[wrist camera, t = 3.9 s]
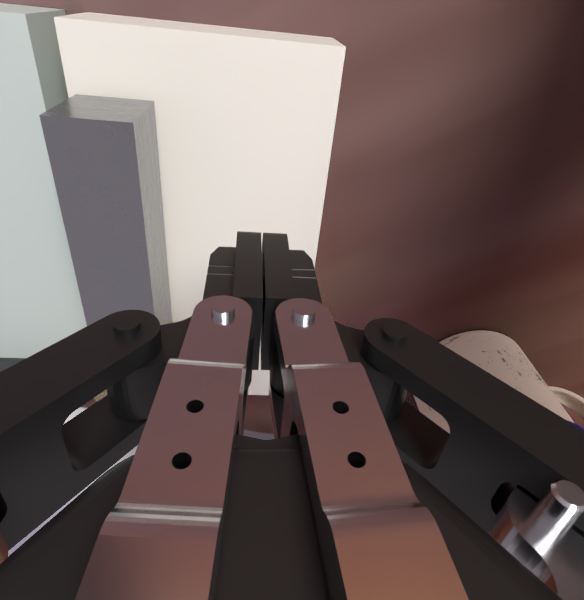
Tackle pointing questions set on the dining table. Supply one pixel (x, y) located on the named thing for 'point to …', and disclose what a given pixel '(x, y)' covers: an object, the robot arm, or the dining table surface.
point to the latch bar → (111, 203)
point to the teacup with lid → (506, 373)
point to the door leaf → (31, 190)
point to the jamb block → (219, 130)
